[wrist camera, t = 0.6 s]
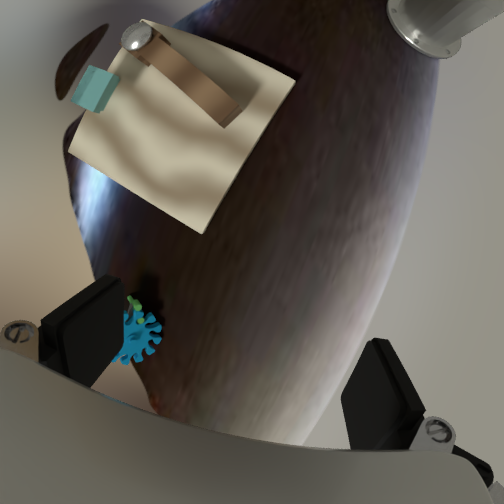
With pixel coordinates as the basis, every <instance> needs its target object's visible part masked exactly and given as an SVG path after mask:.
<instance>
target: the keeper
mask: <svg viewBox="0 0 504 504" xmlns="http://www.w3.org/2000/svg"><path fill="white" fill-rule="evenodd" d="M119 81H120V79H119V77H118V76H116V75H114V74H112V73H110V72H107V71H104V70H102V69H99V68H96V67H94V66H91V65H89V67H88V69H87V71H86V72H85V74H84V76H83V78H82V80H81V81H80V83H79V85H78V87H77V89H76V91H75V93H74V95H73V97H72V99H71V101H72V102H74V103H76V104H78V105H80V106H82V107H84V108H86V109H88V110H90V111H92V112H95V113H100V111H104V109H105V107H106V105H107V103H108V101H109V99H110V97H111V95H112V94H113V92H114V90H115V88H116V86H117V85H118V83H119Z"/></svg>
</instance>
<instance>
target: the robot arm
mask: <svg viewBox="0 0 504 504" xmlns="http://www.w3.org/2000/svg"><path fill="white" fill-rule="evenodd" d="M503 12H504V0H388V2H387V14H388V18H389V20H390V22H391V24H392V26H393V27H394V29H395V30H396V32H397V33H398V34H399V35H400V36H401V37H402V38H403V39H404V40H405V41H406V42H407V43H408V44H409V45H410V46H412V47H413V48H414V49H416V50H418V51H419V52H421V53H423V54H425V55H427V56H430V57H433V58H438V59H447V58H449V57H452V56H453V55H455V54H456V53H457V52H458V51H459V49H460V47H461V37H463V36H465V35H466V34H468V33H469V32H471V31H473V30H474V29H476V28H477V27H479V26H481V25H482V24H484V23H486V22H487V21H489V20H490V19H492V18H494V17H496V16H497V15H499V14H501V13H503ZM123 344H124V284H123V283H121V279H120V278H118V277H115V276H111V275H108V274H106V275H104V276H102V277H101V278H99V279H98V280H96V281H95V282H93V283H92V284H91V285H89V286H88V287H86V288H85V289H83V290H82V291H80V292H79V293H77V294H76V295H75V296H73V297H72V298H70V299H69V300H68V301H66V302H65V303H63V304H62V305H60V306H59V307H58V308H56V309H55V310H53V311H52V312H51V313H49V314H48V315H47V316H45V317H44V318H43V319H41V326H40V327H39V328H37V327H36V325H35V324H33V323H32V322H29V321H25V320H17V321H13V322H10V323H8V324H6V325H5V326H4V327H3V328H2V330H1V332H0V504H504V488H503V486H502V485H500V484H499V483H498V482H497V481H496V482H495V483H494V484H493V483H492V482H493V478H494V476H493V471H492V469H491V467H490V465H489V464H487V463H486V462H484V461H482V460H481V459H479V458H477V457H475V456H473V455H471V454H470V453H468V452H466V451H465V450H463V449H461V448H459V447H458V446H456V445H454V442H455V438H456V434H455V431H454V429H453V427H452V426H451V425H450V424H449V423H448V422H447V421H445V420H444V419H442V418H439V417H434V416H432V417H428V418H426V419H425V418H424V416H423V414H424V412H425V411H426V409H425V407H424V405H423V403H422V401H421V399H420V397H419V395H418V393H417V392H416V390H415V388H414V386H413V384H412V382H411V380H410V378H409V376H408V374H407V372H406V371H405V369H404V367H403V365H402V364H401V361H400V360H399V358H398V356H397V354H396V352H395V351H394V349H393V347H392V345H391V344H390V342H389V340H387V339H380V338H373V339H372V340H371V341H368V342H367V343H366V345H365V348H364V350H363V352H362V354H361V357H360V358H359V360H358V363H357V365H356V366H355V368H354V370H353V372H352V374H351V376H350V378H349V380H348V382H347V384H346V386H345V388H344V390H343V392H342V395H341V403H342V408H343V413H344V418H345V422H346V427H347V432H348V437H349V442H350V448H351V449H330V448H315V447H305V446H297V445H288V444H281V443H274V442H268V441H261V440H256V439H250V438H245V437H240V436H235V435H230V434H226V433H221V432H217V431H213V430H209V429H205V428H201V427H197V426H193V425H190V424H186V423H183V422H179V421H176V420H173V419H170V418H166V417H163V416H160V415H157V414H154V413H151V412H148V411H145V410H143V409H140V408H137V407H134V406H132V405H129V404H127V403H124V402H121V401H119V400H116V399H114V398H112V397H109V396H107V395H104V394H102V393H100V392H98V391H95V390H93V389H91V388H90V387H91V386H92V385H93V384H94V383H95V381H96V380H97V379H98V377H99V376H100V375H101V374H102V372H103V371H104V370H105V369H106V367H107V366H108V365H109V364H110V363H111V361H112V360H113V359H114V358H115V356H116V355H117V354H118V353H119V351H120V350H121V349H122V347H123Z"/></svg>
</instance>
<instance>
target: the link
mask: <svg viewBox="0 0 504 504" xmlns="http://www.w3.org/2000/svg"><path fill="white" fill-rule="evenodd" d="M141 22H144V21H143V20H142V21H141ZM145 23H146V22H145ZM151 28H152V30H153V35H152V38H151V40H150V41H149V42H148V44H147V45H145V46H144V47H143V48H141V49H140V50H139V51H137V50H136V51H129V50H127V49H126V50H127V51H128V52H129V53H131V54H132V55H133V56H134V57H135V58H137V59H138V60H139V61H141V62H142V63H144V64H145V65H146V66H148V67H149V66H150V65H151V64H152V65H153V66H154V67H155V68H156V69H158V70H159V71H160V72H161V73H162V74H163V75H165V76H166V77H167V78H168V79H169V80H170V81H171V82H173V83H174V84H175V85H176V86H177V87H178V88H179V89H181V90H182V91H183V92H184V93H185V94H186V95H187V96H188V97H189V98H191V99H192V100H193V101H194V102H195V103H196V104H197V105H198V106H199V107H200V108H202V109H203V110H204V111H205V112H206V113H207V114H208V115H209V116H210V117H211V118H212V119H213V120H214V121H215V122H216V123H218V124H219V125H220V126H221V127H222V128H224V129H225V128H226V127H227V126H228V125H229V124H230V123H231V122H232V121H233V120H234V119H235V118H236V117H237V116H238V115H239V114H241V113H242V112H243V111H242V109H241V107H240V106H239V104H238V103H237V102H236V101H234V100H233V99H232V98H231V97H230V96H229V95H228V94H227V93H226V92H224V91H223V90H222V89H221V88H220V87H219V86H218V85H216V84H215V83H214V82H213V81H212V80H211V79H210V78H208V77H207V76H206V75H205V74H204V73H202V72H201V71H200V70H199V69H198V68H196V67H195V66H194V65H193V64H192V63H190V62H189V61H188V60H187V59H185V58H184V57H183V56H182V55H180V54H179V53H178V52H177V51H175V50H174V49H173V48H171V47H170V45H171V43H170V42H169V41H168V40H167V39H166V38H165V37H164V36H163V35H162V34H161V33H160V32H158V31H157V30H156V29H154V28H153V27H151ZM119 44H120V45H121V46H122V44H121V42H120V43H119ZM122 47H123V46H122ZM123 48H124V47H123ZM124 49H125V48H124Z"/></svg>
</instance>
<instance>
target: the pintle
mask: <svg viewBox="0 0 504 504" xmlns="http://www.w3.org/2000/svg"><path fill="white" fill-rule="evenodd" d="M152 35H153V30H152V28H151V26H150V25H149V24H147V23H145V22H139V23H136V24H133V25H131V26H130V27H129V28H127V29H126V31H125V32H124V33H123V35H122V38H121V44H122V46H123V47H124V48H125V49H127V50H129V51H136V50H139V49H141V48H143V47H144V46H145V45H147V44H148V42H149V41H150V40H151V38H152Z"/></svg>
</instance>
